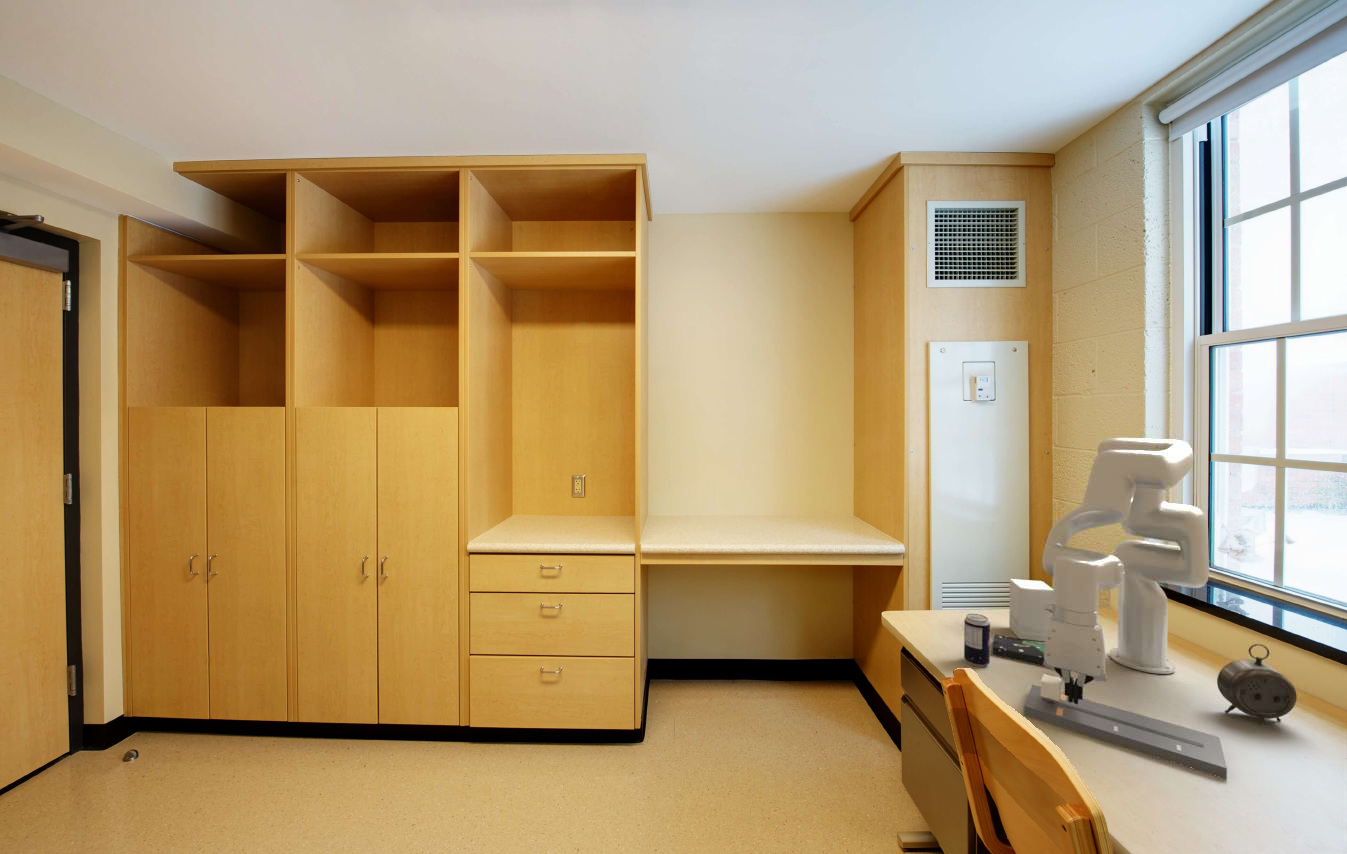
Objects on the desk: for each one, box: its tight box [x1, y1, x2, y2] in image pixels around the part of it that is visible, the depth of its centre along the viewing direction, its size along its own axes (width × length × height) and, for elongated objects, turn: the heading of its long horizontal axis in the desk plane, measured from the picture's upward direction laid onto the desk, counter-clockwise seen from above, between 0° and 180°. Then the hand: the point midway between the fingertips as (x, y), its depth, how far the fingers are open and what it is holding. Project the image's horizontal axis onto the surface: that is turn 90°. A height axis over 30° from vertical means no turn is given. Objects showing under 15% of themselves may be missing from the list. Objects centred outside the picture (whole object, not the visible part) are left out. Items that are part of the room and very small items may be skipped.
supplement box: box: [1008, 578, 1053, 642], centre depth 153 cm, size 9×9×15 cm
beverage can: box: [963, 613, 991, 668], centre depth 136 cm, size 6×6×12 cm
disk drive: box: [991, 633, 1047, 668], centre depth 140 cm, size 10×3×15 cm
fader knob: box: [1040, 673, 1063, 701], centre depth 114 cm, size 4×3×4 cm
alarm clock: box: [1216, 643, 1298, 726], centre depth 110 cm, size 11×5×16 cm, turn 71°
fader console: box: [1023, 683, 1228, 780], centre depth 107 cm, size 12×30×2 cm, turn 48°
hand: (1073, 700), depth 111 cm, fingers closed
